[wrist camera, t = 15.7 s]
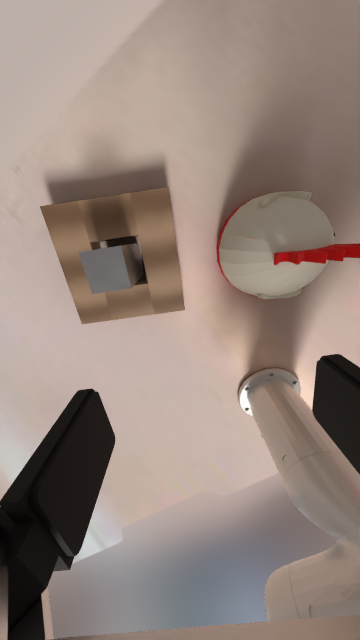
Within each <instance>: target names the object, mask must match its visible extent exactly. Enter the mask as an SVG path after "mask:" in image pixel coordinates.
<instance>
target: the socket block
mask: <svg viewBox="0 0 360 640" xmlns="http://www.w3.org/2000/svg"><path fill="white" fill-rule="evenodd" d="M40 208H41V211H42V214H43V216H44V219H45V222H46V225H47V228H48V230H49V233H50V236H51V239H52V242H53V244H54V247H55V250H56V253H57V255H58V258H59V261H60V264H61V267H62V269H63V272H64V275H65V278H66V281H67V283H68V286H69V289H70V292H71V294H72V297H73V300H74V303H75V306H76V308H77V311H78V314H79V317H80V320H81V322H82V324H87V323H94V322H102V321H109V320H116V319H123V318H131V317H138V316H145V315H152V314H159V313H167V312H174V311H181V310H185V307H184V299H183V291H182V284H181V276H180V269H179V261H178V254H177V246H176V239H175V231H174V224H173V216H172V208H171V201H170V193H169V187H165V188H158V189H152V190H145V191H138V192H132V193H125V194H119V195H112V196H105V197H99V198H92V199H86V200H79V201H72V202H66V203H59V204H52V205H46V206H40ZM134 236H139V240H140V245H141V250H142V255H143V260H144V265H145V270H146V275H147V280H140V281H137V282H136V283H135V285H134V286H133V287H132V288H130V289H123V290H116V291H110V292H103V293H97V294H92V293H91V290H90V287H89V283H88V280H87V277H86V274H85V271H84V268H83V265H82V262H81V259H80V256H79V253H78V252H83V251H90V250H96V249H101V247H100V244H99V242H100V241H107V240H113V239H120V238H127V237H134Z"/></svg>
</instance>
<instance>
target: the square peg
mask: <svg viewBox="0 0 360 640" xmlns="http://www.w3.org/2000/svg"><path fill="white" fill-rule="evenodd" d="M78 253H79V256H80V259H81V262H82V265H83V268H84V271H85V274H86V277H87V280H88V283H89V287H90V290H91V293H92V294H97V293H103V292H110V291H116V290H123V289H130V288H132V287H133V286H134V285H135V283H136V282H137V281H138V280H139V279H140V277H141V276H142V275H143V274H144V272H143V268H142V263H141V258H140V253H139V249H138V244H137V243H136V244H129V245H122V246H115V247H109V248H102V249H96V250H90V251H83V252H78Z"/></svg>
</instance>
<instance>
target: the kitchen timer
mask: <svg viewBox="0 0 360 640" xmlns="http://www.w3.org/2000/svg"><path fill="white" fill-rule="evenodd" d="M311 196H312V193H311V192H306V191H285V192H274V193H270V194H266V195H263V196H260V197H256V198H253V199H251V200H249V201H248V202H246V203H245V204H243V205H242V206H240V207H239V208H237V209H236V210H235V211H234V212H233V214H232V215H231V216H230V217H229V218H228V219H227V220H226V222H225V224H224V226H223V228H222V230H221V232H220V235H219V240H218V244H217V261H218V264H219V267H220V270H221V272H222V274H223V275H224V277H225V278H226V279H227V281H228V282H229V283H230V284H232V285H233V286H234V287H236V288H237V289H239V290H240V291H242V292H245V293H248V294H252V295H255V296H257V297H258V298H262V299H277V298H290V297H295V296H298V295H299V294H301V292H302V291H301V289H300V288H302V287H304V286H305V285H307V284H309V283H311V282H312V281H313V280H314V279H315V278H316V277H317V276H318V275H320V274H321V272H322V271H323V270H324V268H325V267H326V265H327V264H328V262H329V260H334V261H343V258H344V257H351V258H360V244H335V243H334V236H335V233H333V227H332V225H331V223H330V221H329V219H328V217H327V215H326V214H325V213H324V212H323V211H322V210H321V209H320V208H319V207H318V206H317V205H316V204H314V203H313V202H310V201H309V199H310V198H311Z"/></svg>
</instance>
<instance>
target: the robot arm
mask: <svg viewBox="0 0 360 640" xmlns="http://www.w3.org/2000/svg"><path fill="white" fill-rule="evenodd" d="M300 392H301V387H300V383H299V381H298V380H297V378H296V377H295V376H294V375H293V374H292V373H290V372H289V371H286V370H284V369H280V368H270V369H265V370H261V371H259V372H256V373H254V374H253V375H251V376H250V377H249V378H247V379H246V380H245V381H244V383H243V384H242V386H241V387H240V390H239V393H238V400H239V403H240V406H241V408H242V409H243V410H244V411H245V412H246V413H247V414H248V415H250V416H253V417H254V418H255V421H256V423H257V425H258V427H259V429H260V432H261V436H262V438H264V440H265V443H266V445H267V447H268V449H269V451H270V454H271V456H272V458H273V460H274V462H275V465H276V467H277V469H278V471H279V473H280V476H281V478H282V480H283V482H284V484H285V486H286V489H287V491H288V493H289V495H290V497H291V499H292V501H293V502H294V504H295V505H296V506H297V508H298V509H299V510H300V511H301V513H303V514H304V515H305V516H306V517H307V518H308V519H309V520H311V521H312V522H313V523H314V524H316V525H317V526H318V527H320V528H321V529H323V530H324V531H326V532H327V533H328V534H330V535H331V536H333V537H334V538H335V539H336V540H337V544H336V545H335V546H334V547H332V548H330V549H328V550H326V551H324V552H322V553H319V554H316V555H313V556H310V557H307V558H304V559H301V560H299V561H296V562H293V563H291V564H288V565H285V566H283V567H281V568H279V569H277V570H276V571H274V572H273V573H272V574H271V575H270V577H269V578H268V580H267V583H266V586H265V594H264V596H265V597H264V601H265V612H266V618H267V622H255V623H241V624H228V625H216V626H202V627H189V628H177V629H164V630H152V631H139V632H128V633H115V634H103V635H91V636H78V637H68V638H59V639H54V638H53V631H52V622H51V613H50V604H49V596H48V587H47V586H48V583H49V580H50V578H51V575H52V573H53V571H61V570H70V568H71V565H72V562H73V559H74V556H76V555H77V554H78V553H79V551H80V549H81V547H82V544H83V541H84V538H85V535H86V532H87V529H88V525H89V522H90V519H91V516H92V513H93V510H94V507H95V504H96V501H97V498H98V494H99V491H100V488H101V485H102V482H103V479H104V476H105V473H106V470H107V467H108V464H109V460H110V457H111V454H112V451H113V448H114V445H115V435H114V432H113V430H112V427H111V424H110V422H109V419H108V417H107V414H106V411H105V409H104V406H103V403H102V401H101V398H100V396H99V393H98V392H95V391H94V390H93V389H85V390H79V391H77V392H76V394H75V395H74V397H73V398H72V399H71V401H70V402H69V404H68V405H67V406H66V408H65V409H64V411H63V412H62V414H61V415H60V416H59V418H58V419H57V421H56V422H55V424H54V425H53V426H52V428H51V429H50V431H49V432H48V434H47V435H46V436H45V438H44V439H43V441H42V442H41V444H40V445H39V446H38V448H37V449H36V451H35V452H34V454H33V455H32V456H31V458H30V459H29V461H28V462H27V464H26V465H25V466H24V468H23V469H22V471H21V472H20V474H19V475H18V476H17V478H16V479H15V481H14V482H13V484H12V485H11V486H10V488H9V489H8V491H7V492H6V494H5V495H4V496H3V498H2V499H1V501H0V506H1V507H0V640H360V367H358V366H357V365H355V364H354V363H352V362H351V361H349V360H348V359H346V358H345V357H343V356H342V355H339V354H334V355H327V356H322V357H321V358H320V360H319V361H318V362H317V366H316V377H315V388H314V398H313V409H312V410H311V408H310V407H309V406H308V405H307V404H306V402H305V401H304V400H303V399H302V397H301V396H300Z"/></svg>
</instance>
